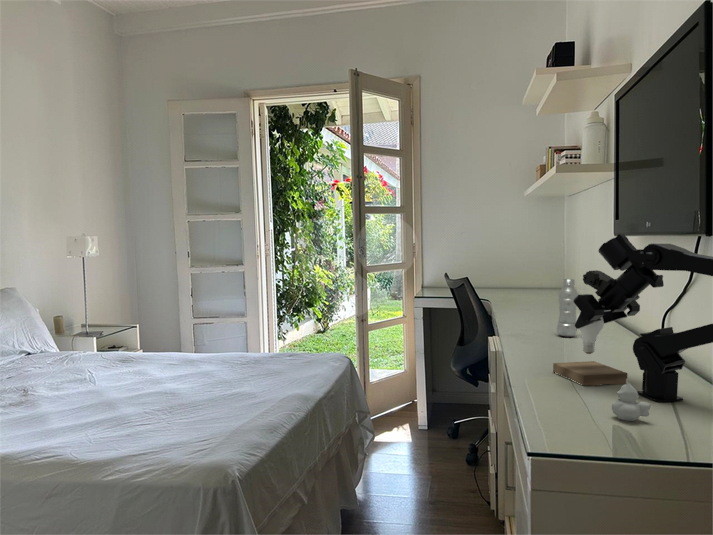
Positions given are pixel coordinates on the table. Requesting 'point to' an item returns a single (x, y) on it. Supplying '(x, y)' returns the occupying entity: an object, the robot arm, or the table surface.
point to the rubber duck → (629, 404)
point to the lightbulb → (590, 335)
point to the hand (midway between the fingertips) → (584, 326)
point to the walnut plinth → (590, 373)
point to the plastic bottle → (567, 309)
